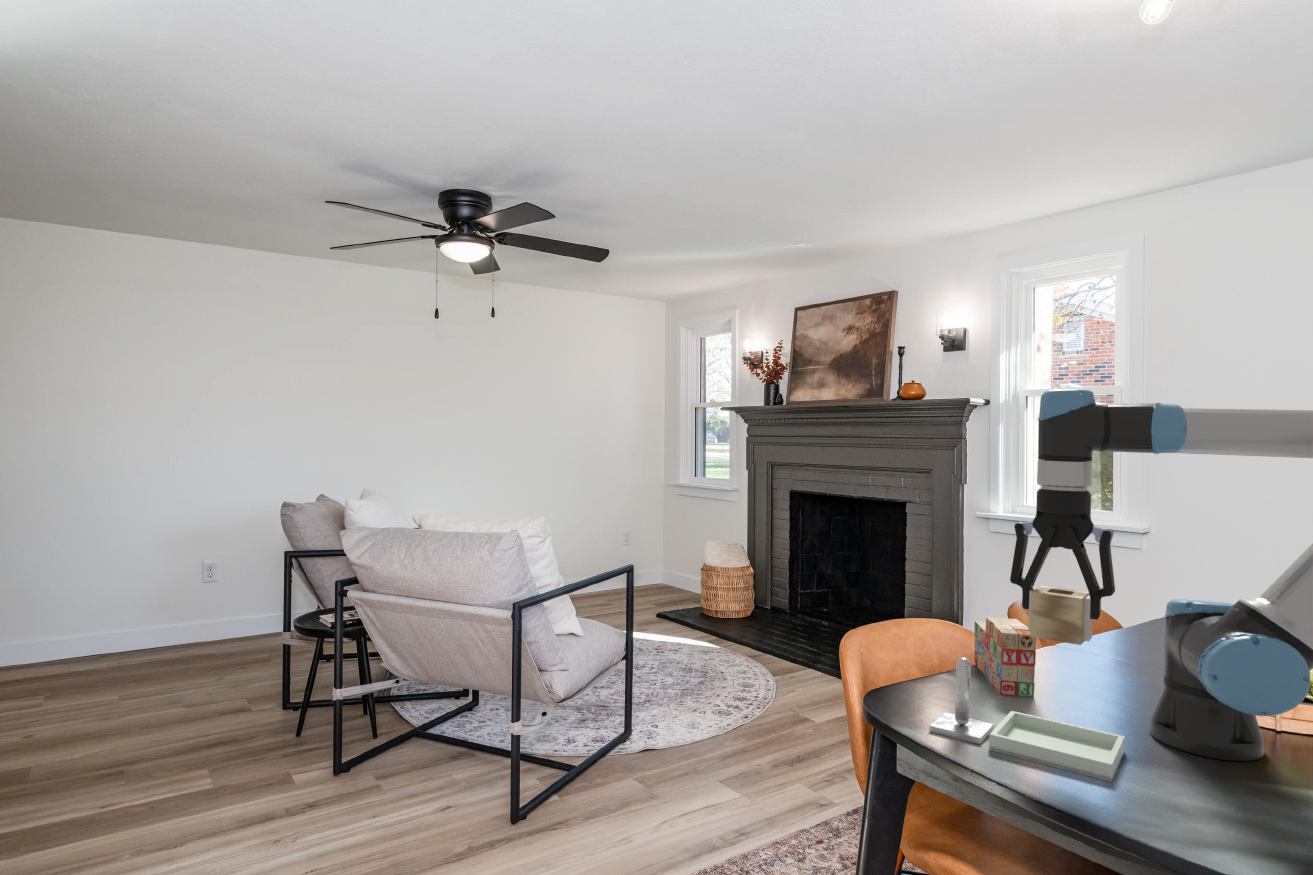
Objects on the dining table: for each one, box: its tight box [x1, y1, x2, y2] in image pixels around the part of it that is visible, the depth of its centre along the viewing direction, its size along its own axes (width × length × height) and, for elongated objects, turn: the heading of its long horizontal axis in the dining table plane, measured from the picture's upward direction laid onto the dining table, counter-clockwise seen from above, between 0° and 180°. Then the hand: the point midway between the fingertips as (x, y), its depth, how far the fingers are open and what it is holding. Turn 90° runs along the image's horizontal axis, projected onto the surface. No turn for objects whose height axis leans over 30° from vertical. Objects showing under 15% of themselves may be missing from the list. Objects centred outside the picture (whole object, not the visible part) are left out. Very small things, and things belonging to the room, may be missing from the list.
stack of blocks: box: [974, 616, 1037, 699], centre depth 156 cm, size 21×6×12 cm, turn 170°
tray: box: [988, 710, 1126, 783], centre depth 120 cm, size 17×14×2 cm
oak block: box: [1030, 585, 1090, 646], centre depth 120 cm, size 7×7×7 cm
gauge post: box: [929, 657, 995, 745], centre depth 127 cm, size 8×8×12 cm
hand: (1059, 634), depth 120 cm, fingers closed on oak block, 7 cm apart
